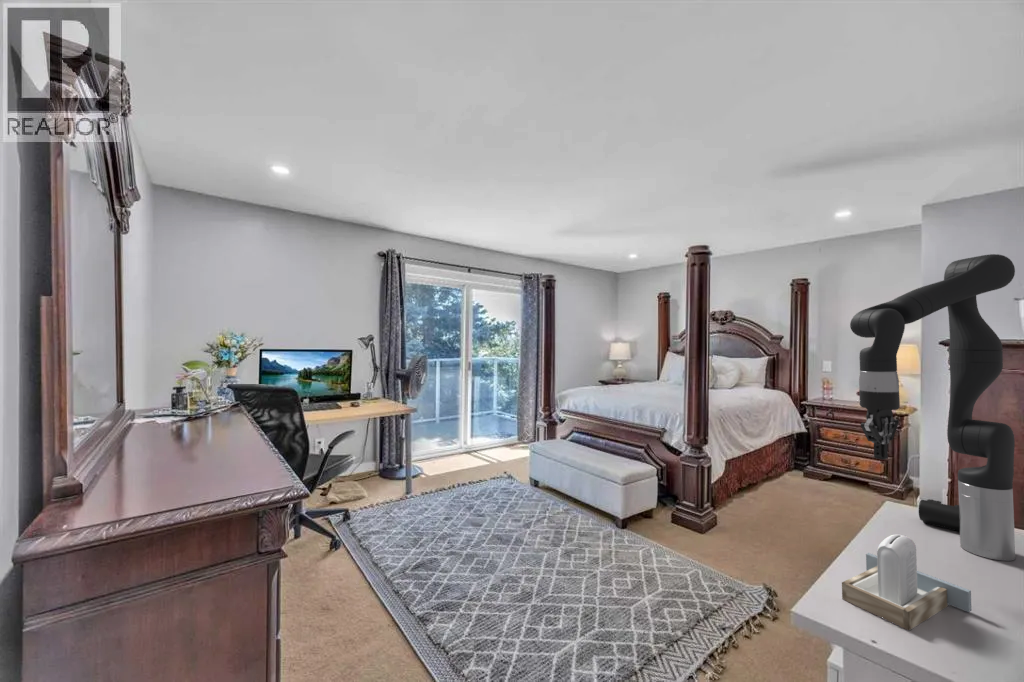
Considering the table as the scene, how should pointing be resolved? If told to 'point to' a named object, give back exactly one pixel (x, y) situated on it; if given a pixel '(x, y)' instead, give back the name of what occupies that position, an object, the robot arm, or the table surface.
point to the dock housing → (889, 610)
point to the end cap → (939, 514)
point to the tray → (919, 587)
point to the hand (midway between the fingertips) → (881, 458)
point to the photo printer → (897, 569)
